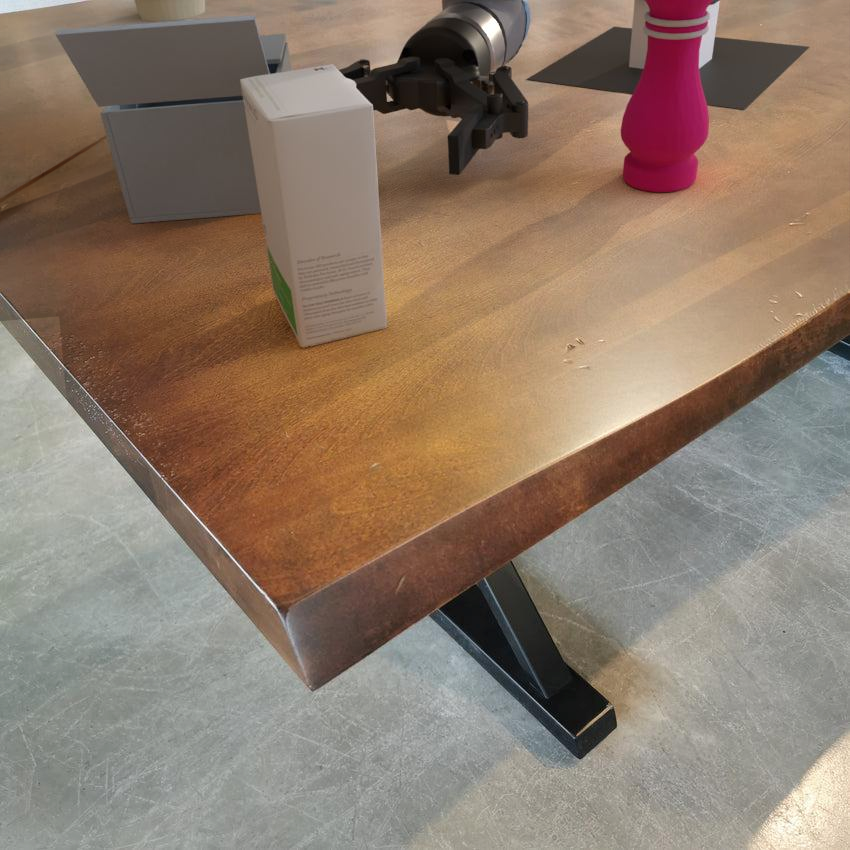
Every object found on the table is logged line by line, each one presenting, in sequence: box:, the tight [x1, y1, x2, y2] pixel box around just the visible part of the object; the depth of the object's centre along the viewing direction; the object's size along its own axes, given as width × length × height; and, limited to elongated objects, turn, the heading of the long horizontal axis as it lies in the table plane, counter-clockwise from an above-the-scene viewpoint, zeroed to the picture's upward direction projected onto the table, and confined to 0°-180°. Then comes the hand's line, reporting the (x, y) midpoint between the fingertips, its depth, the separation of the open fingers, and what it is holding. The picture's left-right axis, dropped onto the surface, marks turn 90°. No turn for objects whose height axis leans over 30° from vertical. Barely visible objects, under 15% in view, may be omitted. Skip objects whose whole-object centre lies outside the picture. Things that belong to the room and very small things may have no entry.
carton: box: [100, 33, 293, 224], centre depth 80 cm, size 17×14×10 cm
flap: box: [55, 14, 270, 108], centre depth 66 cm, size 8×14×1 cm
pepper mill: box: [620, 0, 713, 193], centre depth 71 cm, size 7×7×20 cm
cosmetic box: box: [240, 63, 388, 349], centre depth 58 cm, size 8×7×16 cm
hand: (361, 149), depth 63 cm, fingers open, 13 cm apart
